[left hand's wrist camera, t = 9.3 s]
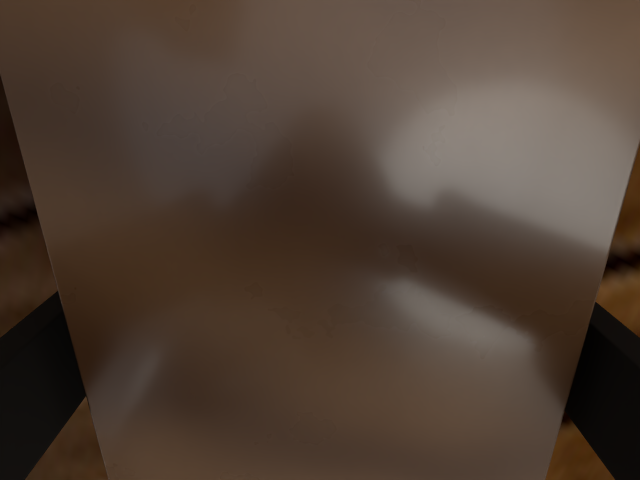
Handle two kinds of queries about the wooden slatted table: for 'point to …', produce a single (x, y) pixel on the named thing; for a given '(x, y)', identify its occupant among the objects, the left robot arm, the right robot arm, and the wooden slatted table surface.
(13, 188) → the wooden slatted table surface
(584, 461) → the wooden slatted table surface
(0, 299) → the wooden slatted table surface
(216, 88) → the cabinet
